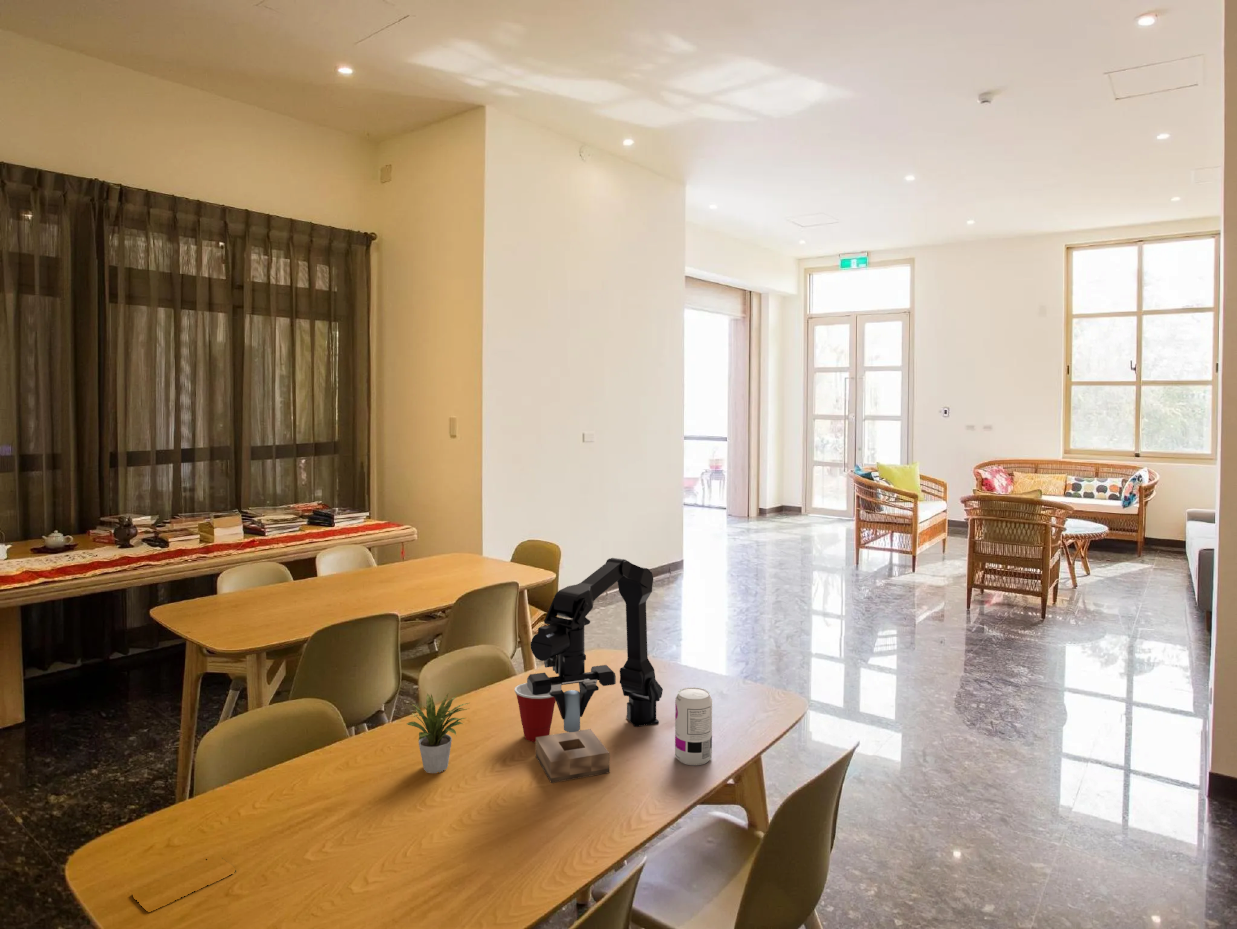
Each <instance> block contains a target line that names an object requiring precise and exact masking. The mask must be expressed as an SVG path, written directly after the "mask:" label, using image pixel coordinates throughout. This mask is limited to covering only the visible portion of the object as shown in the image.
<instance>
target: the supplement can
mask: <svg viewBox="0 0 1237 929" xmlns="http://www.w3.org/2000/svg"><path fill="white" fill-rule="evenodd" d="M674 703H675V707H674V708H675V710H674V711H675V712H674V714H675V715H674V717H675V718H674V721H675V722H674V724H675V726H674V728H675V729H674V731H675V733H674V734H675V736H674V739H675V741H674V756H675V758H676V759H677V760H678V761H679V762H680V763H682V764H684V765H687V766H688V765H689V766H700V765H701V766H702V765H705V764H707V763H709V761H710V760H711V759H712V754H713V750H712V748H713V744H712V743H713V742H712V741H713V699H712V697H711V694H710V692H709V691H708V690H706V689H704V688H701V687H685V688H682V689H680V690H678V693H677V695H676V697H675V702H674Z"/></svg>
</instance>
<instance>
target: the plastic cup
mask: <svg viewBox="0 0 1237 929" xmlns="http://www.w3.org/2000/svg"><path fill="white" fill-rule="evenodd" d="M514 693H515V695H516V699H517V703H518V709H519V714H520V722H521V726H522V730H523V736H524V739H525V740H527V741H528V742H532V743H536V737H540V736H547V735H551V734H550V732H551V727H552V726H551V725H552V722H553V718H554V717H553V716H554V710H555V704H556V700H555V698H554V696H550V694H549V693H548V694H541V695H533V694H532V693H531V691H530V690H529V688H528V687H527V682H525V683H522V684H518V685H516V686H514Z"/></svg>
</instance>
